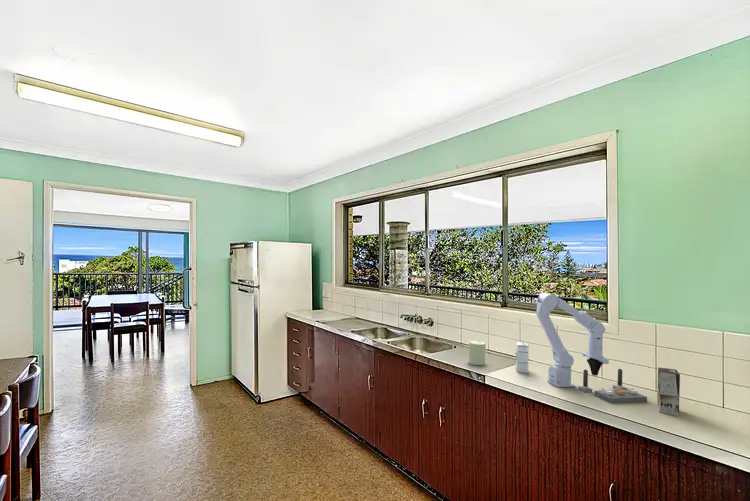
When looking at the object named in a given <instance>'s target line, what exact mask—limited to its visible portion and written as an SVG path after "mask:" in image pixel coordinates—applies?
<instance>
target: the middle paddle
mask: <svg viewBox="0 0 750 501" xmlns="http://www.w3.org/2000/svg"><path fill="white" fill-rule="evenodd" d="M614 390H615V392H617V393H619V394H626V391H623V390H622V389H621V388H615V389H614Z"/></svg>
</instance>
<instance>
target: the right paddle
mask: <svg viewBox="0 0 750 501" xmlns="http://www.w3.org/2000/svg"><path fill="white" fill-rule="evenodd" d="M626 388H627V392H629V393H632V394H638V393H639V391H638V390H636V389H634V387H626Z"/></svg>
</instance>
